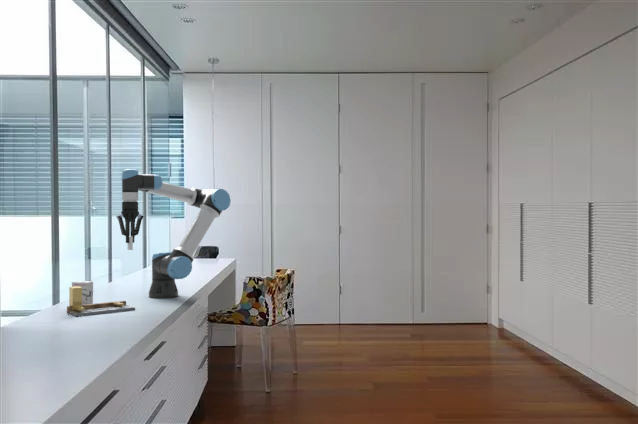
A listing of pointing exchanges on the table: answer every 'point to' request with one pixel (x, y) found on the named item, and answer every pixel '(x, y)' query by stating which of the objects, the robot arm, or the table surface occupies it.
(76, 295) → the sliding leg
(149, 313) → the table surface
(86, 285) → the ink box
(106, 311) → the gray rectangular panel
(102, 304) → the beam
